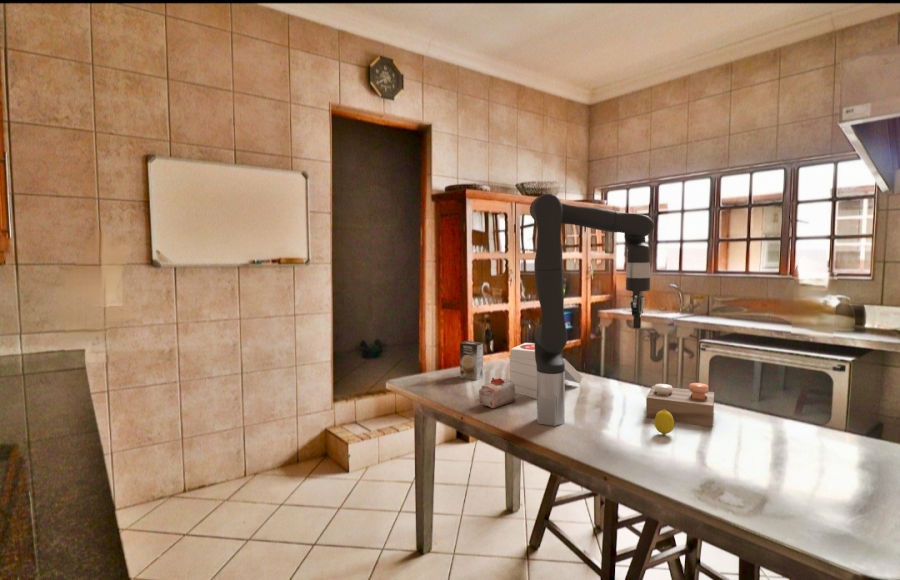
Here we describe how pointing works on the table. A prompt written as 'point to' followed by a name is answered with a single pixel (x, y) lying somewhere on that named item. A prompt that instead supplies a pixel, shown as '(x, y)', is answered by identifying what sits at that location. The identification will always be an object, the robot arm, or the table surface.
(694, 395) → the terracotta plunger
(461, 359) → the coffee box
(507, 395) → the food item
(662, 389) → the white rounded piece
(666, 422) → the lemon
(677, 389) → the walnut block
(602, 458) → the table surface
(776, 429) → the table surface
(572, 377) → the pizza boxes
